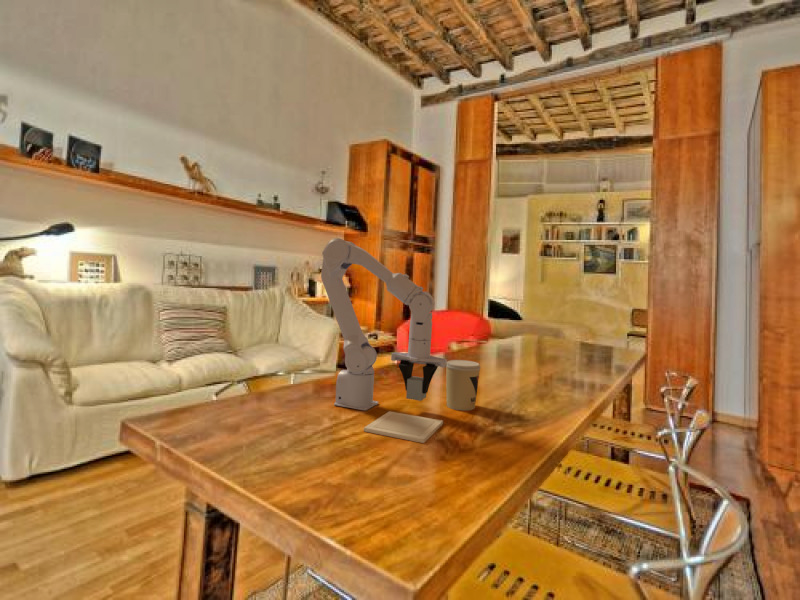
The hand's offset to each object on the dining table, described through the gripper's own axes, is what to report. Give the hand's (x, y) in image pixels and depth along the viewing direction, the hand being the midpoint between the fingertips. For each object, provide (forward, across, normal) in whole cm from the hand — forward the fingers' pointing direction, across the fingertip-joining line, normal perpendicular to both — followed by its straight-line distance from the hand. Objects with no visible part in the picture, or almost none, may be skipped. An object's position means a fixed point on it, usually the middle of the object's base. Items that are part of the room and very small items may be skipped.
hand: (416, 391), depth 114 cm
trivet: (+5, +2, -13) cm, 14 cm away
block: (+2, 0, 0) cm, 2 cm away
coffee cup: (+5, +9, +11) cm, 15 cm away
